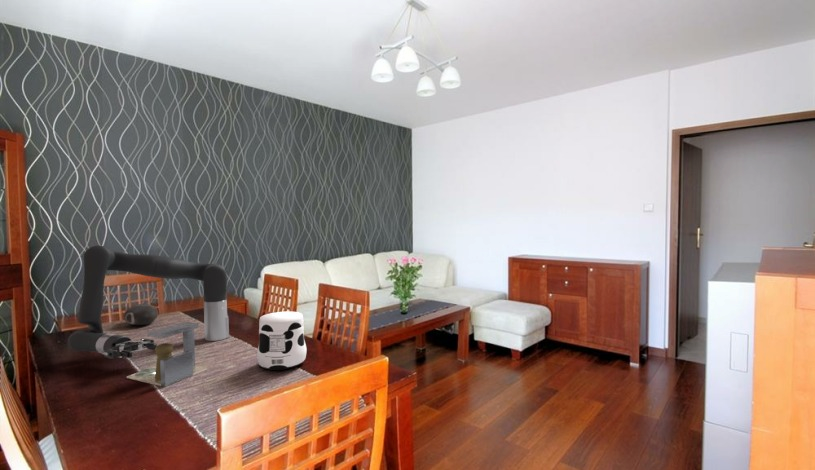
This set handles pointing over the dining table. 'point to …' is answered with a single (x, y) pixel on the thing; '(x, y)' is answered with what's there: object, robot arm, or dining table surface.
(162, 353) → the cork
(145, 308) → the decorative stone
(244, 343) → the dining table surface
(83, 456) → the dining table surface
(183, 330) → the stand
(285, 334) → the milk container
